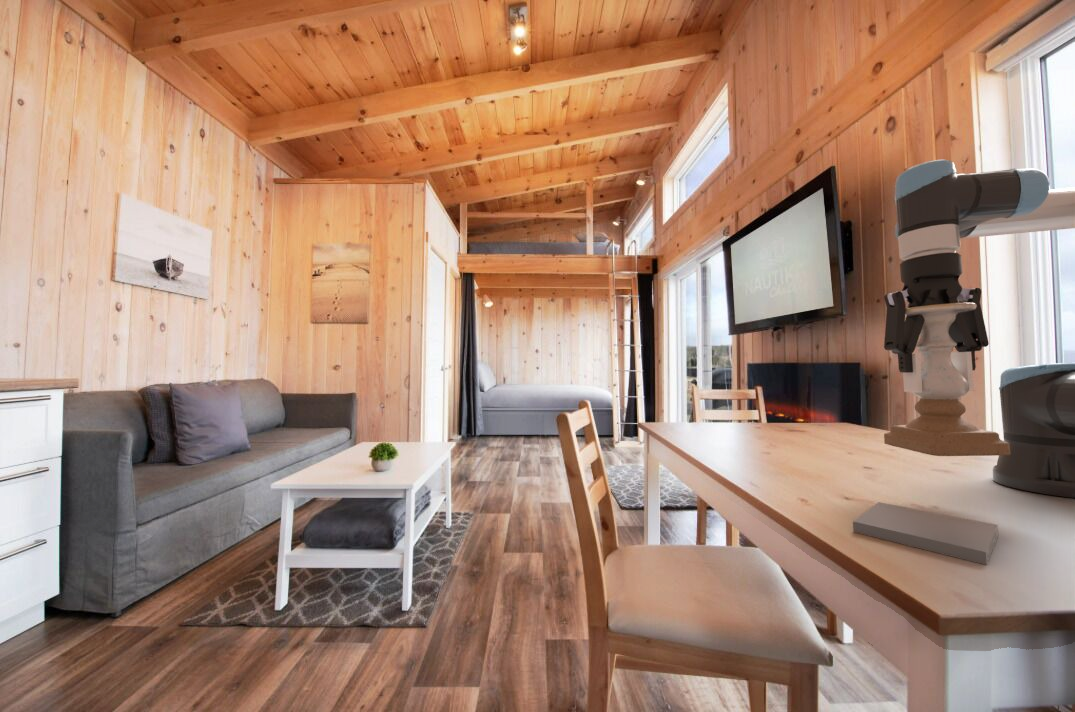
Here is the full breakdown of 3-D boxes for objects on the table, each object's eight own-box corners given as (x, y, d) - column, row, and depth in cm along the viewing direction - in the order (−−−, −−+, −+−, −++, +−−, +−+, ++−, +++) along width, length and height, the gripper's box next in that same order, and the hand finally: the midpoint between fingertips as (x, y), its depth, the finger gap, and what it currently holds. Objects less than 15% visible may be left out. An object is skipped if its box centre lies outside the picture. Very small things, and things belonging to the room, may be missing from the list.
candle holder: (948, 442, 73) (938, 310, 74) (1013, 455, 62) (1001, 300, 63) (882, 443, 74) (874, 313, 75) (935, 456, 63) (924, 303, 64)
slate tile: (879, 511, 67) (878, 502, 67) (998, 535, 56) (997, 524, 56) (853, 531, 59) (852, 521, 59) (986, 564, 48) (985, 552, 48)
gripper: (970, 259, 72) (979, 388, 71) (851, 265, 74) (859, 392, 73) (1017, 247, 65) (1028, 390, 64) (883, 253, 66) (892, 394, 65)
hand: (938, 391), depth 68 cm, fingers closed on candle holder, 7 cm apart
